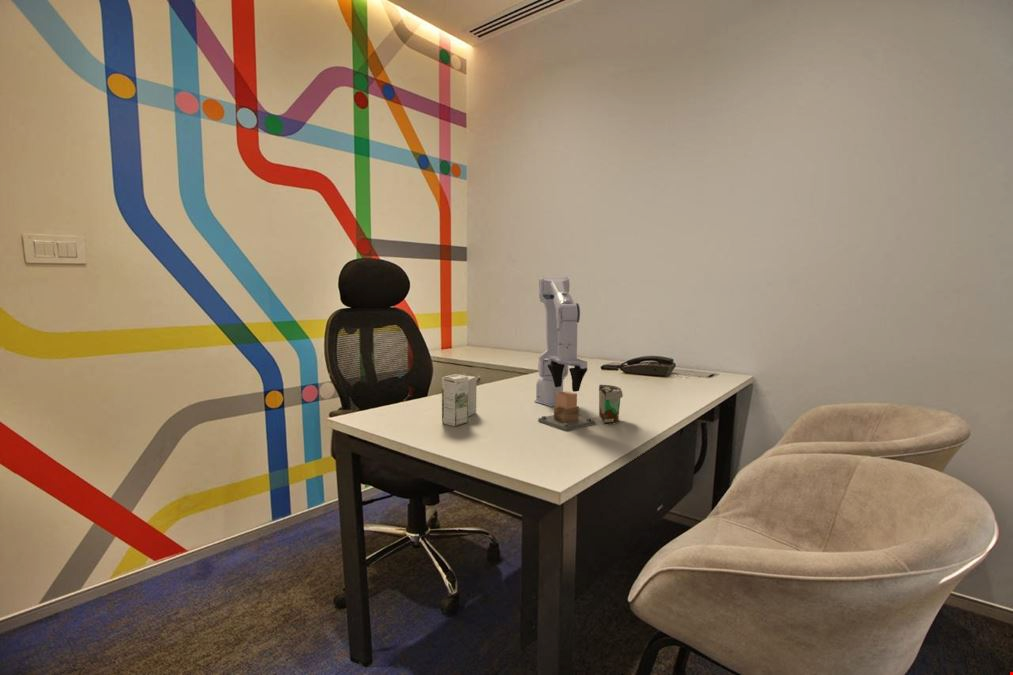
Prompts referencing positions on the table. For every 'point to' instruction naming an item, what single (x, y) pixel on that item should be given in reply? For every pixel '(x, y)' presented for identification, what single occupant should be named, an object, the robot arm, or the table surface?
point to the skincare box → (471, 395)
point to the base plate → (567, 425)
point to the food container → (609, 403)
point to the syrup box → (454, 399)
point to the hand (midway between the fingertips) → (566, 388)
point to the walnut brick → (566, 414)
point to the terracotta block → (566, 400)
